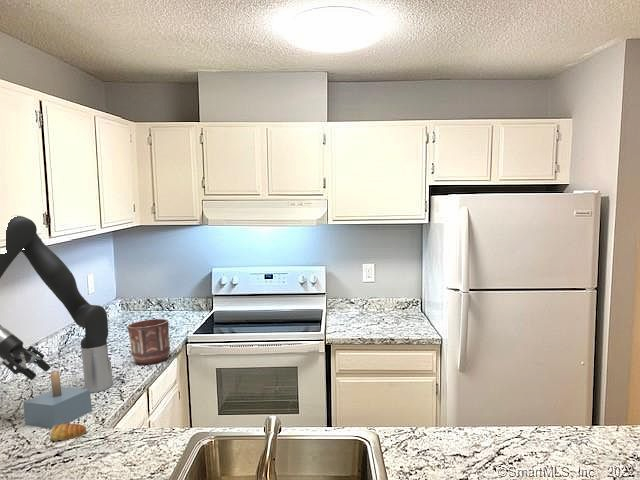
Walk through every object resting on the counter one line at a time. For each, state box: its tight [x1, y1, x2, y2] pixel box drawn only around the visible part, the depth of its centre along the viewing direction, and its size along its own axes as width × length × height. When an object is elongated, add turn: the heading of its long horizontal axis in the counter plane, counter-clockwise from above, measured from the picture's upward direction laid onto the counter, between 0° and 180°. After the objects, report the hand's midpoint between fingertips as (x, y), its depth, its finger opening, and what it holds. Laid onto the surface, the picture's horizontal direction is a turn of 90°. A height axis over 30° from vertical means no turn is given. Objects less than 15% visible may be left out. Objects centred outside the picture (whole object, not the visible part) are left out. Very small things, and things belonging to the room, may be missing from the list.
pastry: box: [49, 422, 87, 442], centre depth 142 cm, size 9×7×4 cm
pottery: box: [126, 318, 171, 365], centre depth 217 cm, size 18×18×18 cm
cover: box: [22, 370, 93, 429], centre depth 157 cm, size 14×14×16 cm
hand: (41, 373), depth 156 cm, fingers open, 8 cm apart
